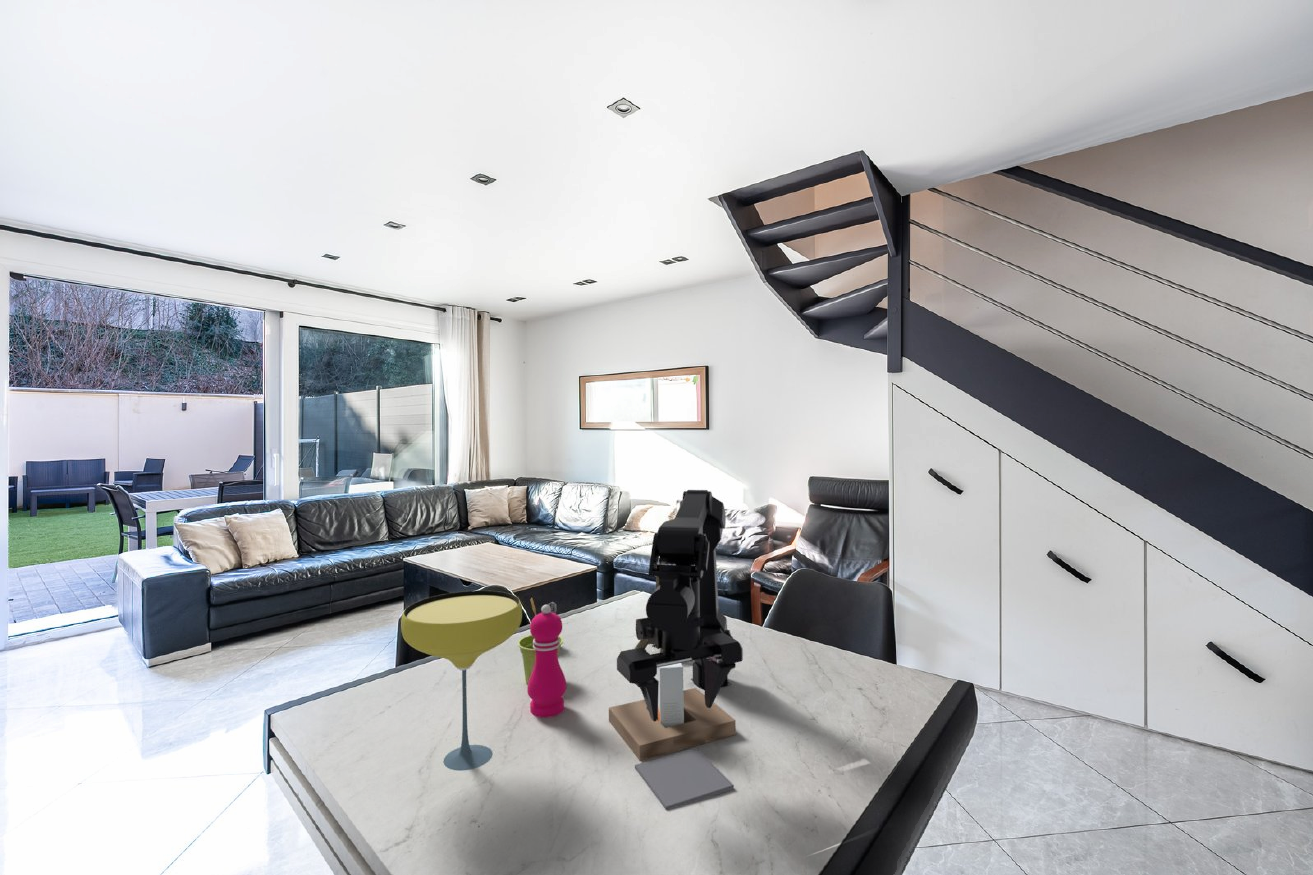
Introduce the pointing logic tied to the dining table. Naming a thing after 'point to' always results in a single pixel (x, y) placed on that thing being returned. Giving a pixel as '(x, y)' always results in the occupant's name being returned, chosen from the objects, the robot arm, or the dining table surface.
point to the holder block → (659, 740)
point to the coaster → (683, 778)
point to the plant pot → (530, 654)
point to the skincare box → (670, 695)
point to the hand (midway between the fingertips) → (681, 713)
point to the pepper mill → (546, 666)
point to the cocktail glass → (462, 644)
